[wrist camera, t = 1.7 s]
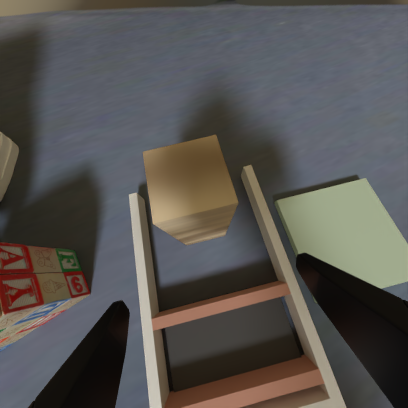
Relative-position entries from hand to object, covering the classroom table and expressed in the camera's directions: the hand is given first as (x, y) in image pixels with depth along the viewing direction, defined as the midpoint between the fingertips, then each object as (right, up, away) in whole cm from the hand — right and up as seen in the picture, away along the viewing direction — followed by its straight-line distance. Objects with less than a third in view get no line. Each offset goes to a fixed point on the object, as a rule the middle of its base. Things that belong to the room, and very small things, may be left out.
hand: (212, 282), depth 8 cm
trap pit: (+2, -10, +9) cm, 14 cm away
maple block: (-1, +2, +14) cm, 14 cm away
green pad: (+16, 0, +12) cm, 20 cm away
